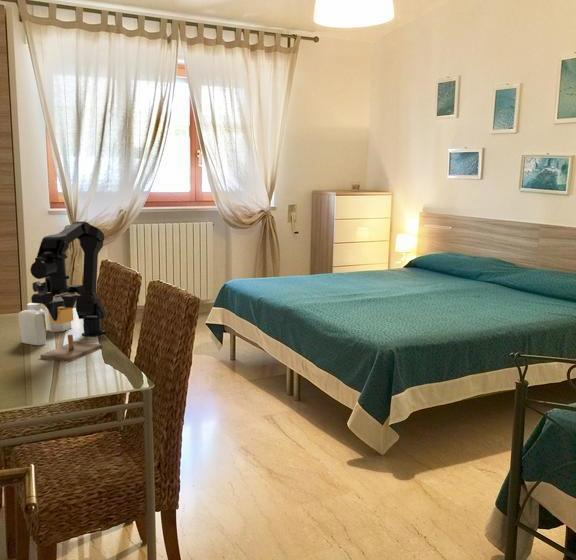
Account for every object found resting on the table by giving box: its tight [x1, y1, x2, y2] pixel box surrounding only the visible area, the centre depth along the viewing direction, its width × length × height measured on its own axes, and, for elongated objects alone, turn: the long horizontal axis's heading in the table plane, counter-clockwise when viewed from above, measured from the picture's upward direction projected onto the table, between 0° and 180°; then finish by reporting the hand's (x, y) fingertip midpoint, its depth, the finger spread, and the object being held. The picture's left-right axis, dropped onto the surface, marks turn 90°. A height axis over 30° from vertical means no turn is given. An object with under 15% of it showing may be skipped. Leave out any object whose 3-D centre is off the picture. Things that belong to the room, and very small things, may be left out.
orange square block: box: [49, 307, 74, 324], centre depth 207 cm, size 5×5×4 cm
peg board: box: [39, 334, 103, 363], centre depth 205 cm, size 16×12×6 cm
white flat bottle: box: [17, 309, 47, 346], centre depth 218 cm, size 10×4×12 cm, turn 60°
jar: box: [44, 296, 72, 333], centre depth 235 cm, size 9×8×12 cm
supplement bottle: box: [26, 302, 48, 336], centre depth 226 cm, size 7×7×13 cm
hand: (61, 318), depth 207 cm, fingers closed on orange square block, 5 cm apart
